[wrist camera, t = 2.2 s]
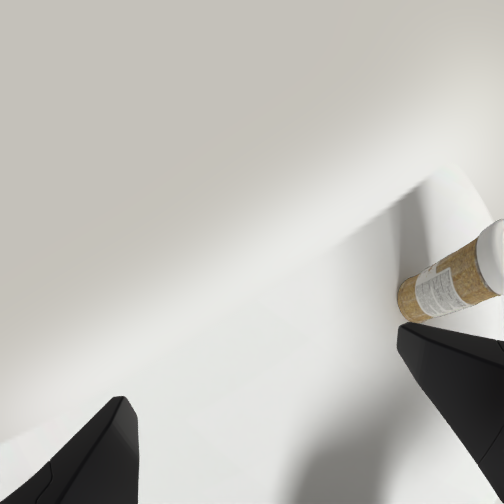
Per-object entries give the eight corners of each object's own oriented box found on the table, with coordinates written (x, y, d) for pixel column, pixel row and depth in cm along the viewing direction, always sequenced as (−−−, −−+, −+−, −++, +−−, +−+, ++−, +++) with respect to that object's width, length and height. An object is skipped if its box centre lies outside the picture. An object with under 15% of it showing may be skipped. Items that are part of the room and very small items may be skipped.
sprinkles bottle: (424, 273, 25) (517, 212, 13) (437, 316, 24) (540, 276, 11) (389, 284, 25) (484, 221, 12) (402, 330, 23) (510, 297, 11)
